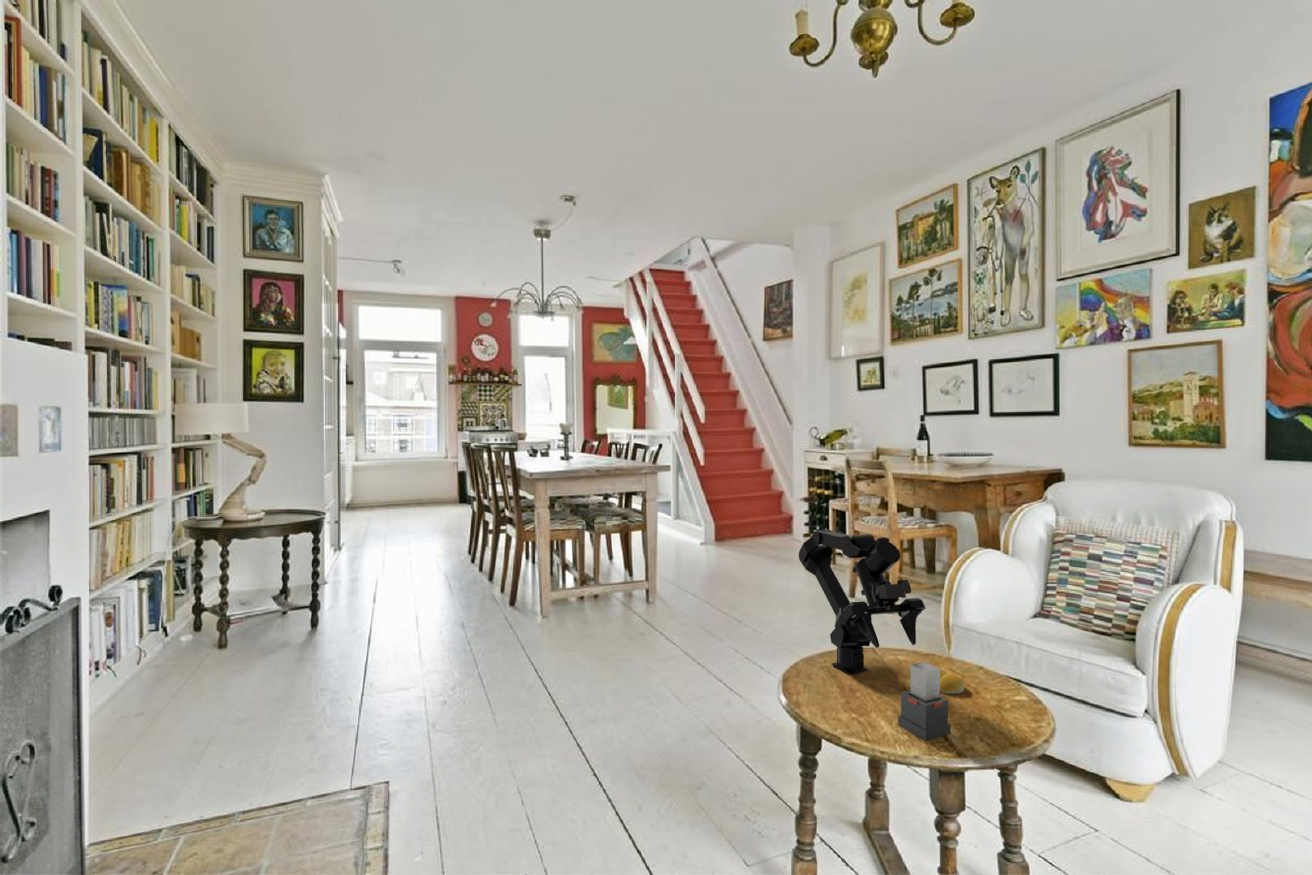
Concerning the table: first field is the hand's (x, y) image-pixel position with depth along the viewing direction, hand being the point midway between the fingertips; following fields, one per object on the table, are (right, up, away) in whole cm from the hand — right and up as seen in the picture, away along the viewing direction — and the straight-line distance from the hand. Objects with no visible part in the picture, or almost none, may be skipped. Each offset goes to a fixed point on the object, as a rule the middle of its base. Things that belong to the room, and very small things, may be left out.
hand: (896, 645), depth 144 cm
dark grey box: (+2, -14, -11) cm, 18 cm away
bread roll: (+15, -13, +9) cm, 22 cm away
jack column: (+2, -11, -11) cm, 16 cm away
